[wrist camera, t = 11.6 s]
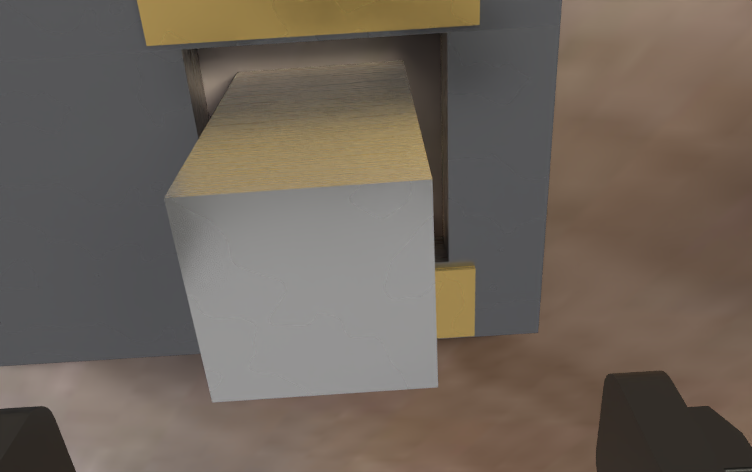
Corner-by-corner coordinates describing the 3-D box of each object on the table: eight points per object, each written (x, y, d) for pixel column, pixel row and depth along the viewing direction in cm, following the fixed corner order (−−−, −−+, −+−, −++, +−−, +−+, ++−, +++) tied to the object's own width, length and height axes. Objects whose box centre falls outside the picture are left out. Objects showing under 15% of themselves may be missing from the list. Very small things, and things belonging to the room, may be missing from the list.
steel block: (402, 60, 18) (432, 179, 11) (410, 209, 20) (438, 387, 13) (237, 71, 18) (163, 198, 11) (261, 219, 20) (212, 402, 13)
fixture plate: (551, -103, 16) (571, -101, 15) (527, 305, 22) (539, 336, 21) (-510, -35, 17) (-596, -26, 15) (-261, 354, 22) (-306, 388, 21)
